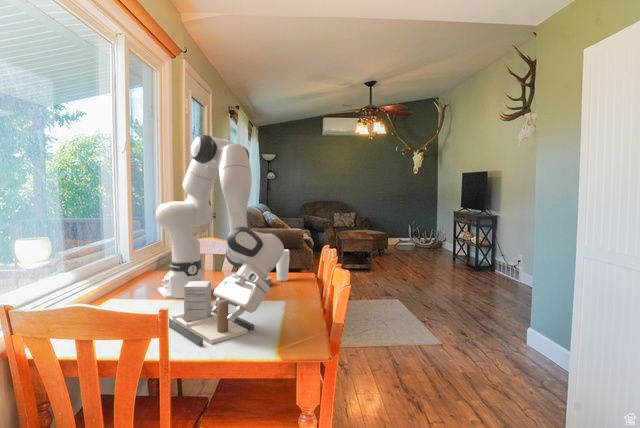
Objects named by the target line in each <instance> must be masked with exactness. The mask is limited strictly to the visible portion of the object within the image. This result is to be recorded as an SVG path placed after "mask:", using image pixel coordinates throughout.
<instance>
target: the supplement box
mask: <svg viewBox="0 0 640 428" xmlns="http://www.w3.org/2000/svg"><path fill="white" fill-rule="evenodd" d="M211 306H212V281H210V280H204V281H190V282H188V283H187V284H186V285H185V286H184V298H183V312H184V321H185V322H188V323H189V322H193V321H197V320H201V319H207V318H209V317H211Z"/></svg>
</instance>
